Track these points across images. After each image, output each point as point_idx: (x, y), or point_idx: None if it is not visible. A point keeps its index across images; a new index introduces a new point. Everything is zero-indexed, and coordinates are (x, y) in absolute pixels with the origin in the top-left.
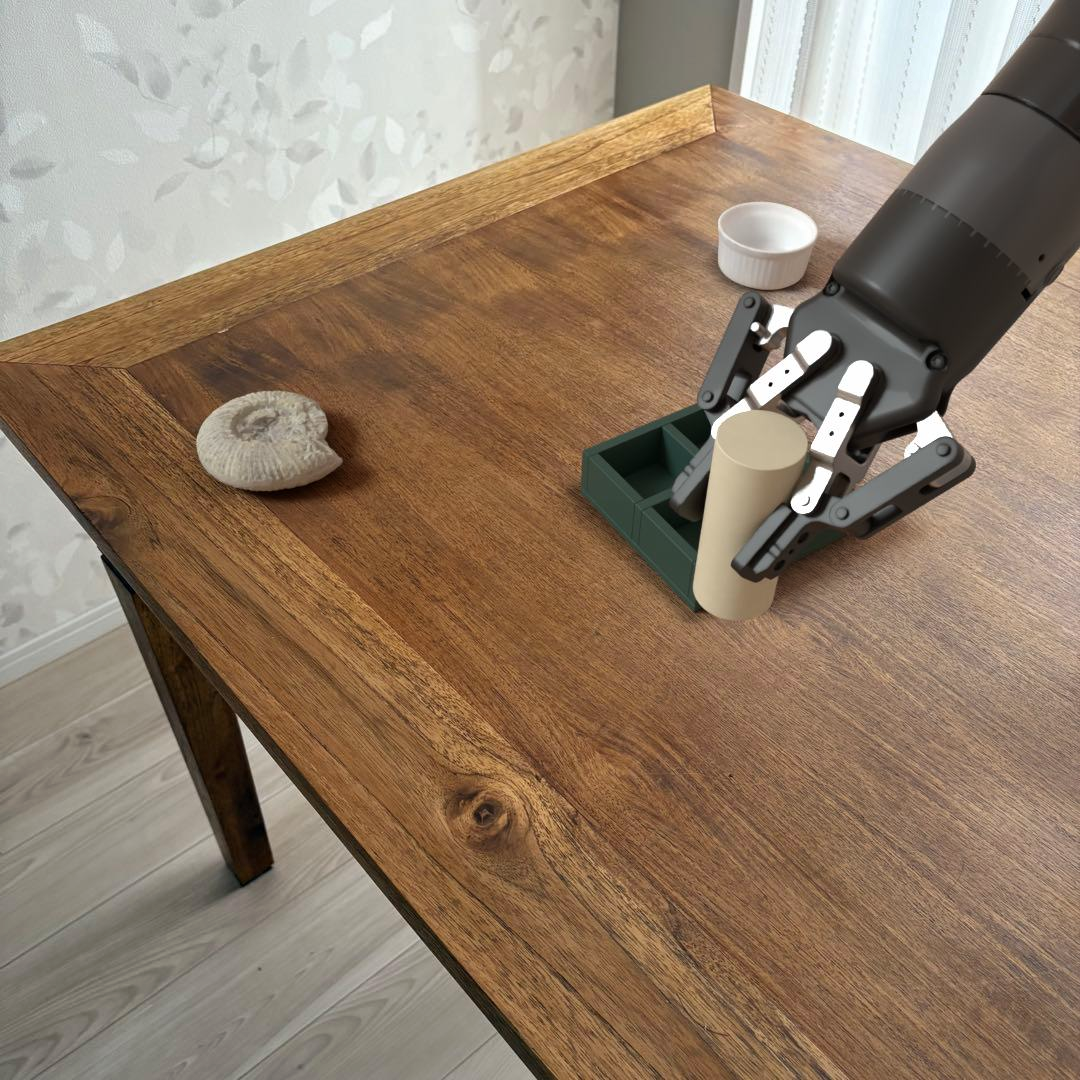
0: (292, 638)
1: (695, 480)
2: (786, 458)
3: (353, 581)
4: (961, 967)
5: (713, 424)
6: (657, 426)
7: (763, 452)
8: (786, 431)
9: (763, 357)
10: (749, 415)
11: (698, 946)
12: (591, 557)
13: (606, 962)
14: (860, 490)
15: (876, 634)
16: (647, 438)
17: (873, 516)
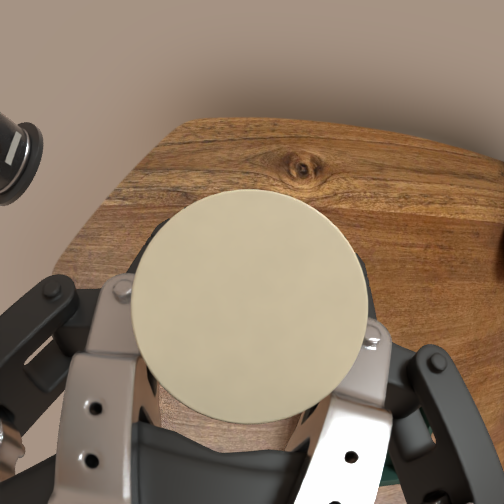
0: (441, 175)
1: None
2: (154, 293)
3: (455, 221)
4: (87, 283)
5: (389, 334)
6: (428, 430)
7: (210, 269)
8: (224, 382)
9: (412, 496)
10: (333, 358)
11: (173, 197)
12: (396, 343)
13: (200, 160)
14: (30, 331)
15: (233, 429)
16: (427, 421)
17: (59, 353)
